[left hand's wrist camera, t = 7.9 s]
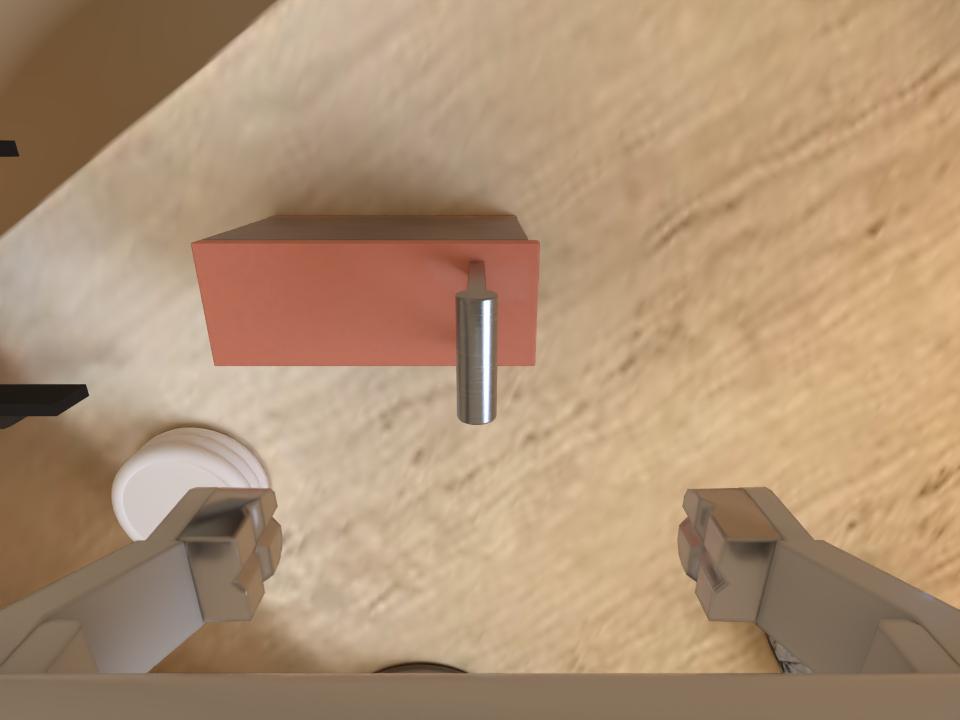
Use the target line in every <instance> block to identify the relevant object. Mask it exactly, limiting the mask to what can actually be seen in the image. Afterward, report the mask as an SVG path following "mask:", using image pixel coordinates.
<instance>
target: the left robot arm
mask: <svg viewBox="0 0 960 720" xmlns="http://www.w3.org/2000/svg"><path fill="white" fill-rule="evenodd" d="M277 507H278V506H277V501H276V496H275V492H274V491H273V490H272V489H271V488H237V487H221V488H219V487H195V488H192V489H189V490H188V492H187V493H186V494H185V495H184V496H183V497H182V498H181V500H180V501H179V502H178V503H177V504H176V505H175V507H174V508H173V509H172V510H171V511H170V512H169V513H168V515H167V516H166V517H165V518H164V519H163V520H162V522H161V523H160V524H159V525H158V526H157V527H156V529H155V530H154V531H153V532H152V533H151V534H150V535H149V537H148V538H147V539H146V540H137V541H135V542H133V543H131V544H129V545H127V546H125V547H123V548H121V549H119V550H117V551H115V552H113V553H111V554H109V555H107V556H105V557H103V558H101V559H99V560H97V561H95V562H93V563H91V564H89V565H88V566H86V567H84V568H82V569H80V570H78V571H76V572H74V573H72V574H70V575H68V576H66V577H64V578H62V579H60V580H58V581H56V582H54V583H52V584H50V585H48V586H46V587H44V588H42V589H40V590H38V591H36V592H34V593H32V594H30V595H28V596H26V597H24V598H23V599H21V600H19V601H17V602H15V603H13V604H11V605H9V606H7V607H5V608H3V609H1V610H0V720H960V610H959V609H957V608H955V607H953V606H951V605H949V604H947V603H945V602H943V601H941V600H939V599H937V598H935V597H933V596H931V595H929V594H927V593H925V592H923V591H921V590H919V589H918V588H916V587H914V586H912V585H910V584H908V583H906V582H904V581H902V580H900V579H898V578H896V577H894V576H892V575H890V574H888V573H886V572H884V571H882V570H880V569H878V568H876V567H874V566H872V565H870V564H868V563H866V562H864V561H863V560H861V559H859V558H857V557H855V556H853V555H851V554H849V553H847V552H845V551H843V550H841V549H839V548H837V547H835V546H833V545H831V544H829V543H827V542H825V541H823V540H814V539H813V538H812V537H811V535H810V534H809V533H808V532H807V531H806V530H805V529H804V527H803V526H802V525H801V524H800V523H799V522H798V520H797V519H796V518H795V517H794V516H793V515H792V514H791V512H790V511H789V510H788V509H787V508H786V507H785V505H784V504H783V503H782V502H781V501H780V500H779V499H778V497H777V496H776V495H775V494H774V493H773V492H772V490H770V489H768V488H766V487H741V488H713V489H687V491H686V493H685V495H684V500H683V506H682V507H683V509H684V510H685V512H686V514H687V516H688V517H687V518H686V519H685V520H684V521H683V522H682V523H681V524H680V525H679V532H678V551H679V557H680V560H681V564H682V566H683V568H684V571H685V573H686V575H688V576H689V577H690V578H692V579H693V580H695V581H696V582H697V584H696V590H695V593H696V595H697V597H698V599H699V601H700V603H701V605H702V607H703V609H704V612H705V614H706V616H707V618H708V620H709V621H730V622H757V623H756V625H757V626H759V627H760V628H761V629H762V630H763V631H765V632H766V633H767V634H768V635H769V636H770V637H772V638H773V639H774V640H775V641H776V642H778V643H779V644H780V645H781V646H782V647H783V648H785V649H786V650H787V651H788V652H789V653H791V654H792V655H793V656H794V657H795V658H796V659H798V660H799V661H800V662H801V663H802V664H803V665H805V666H806V667H807V668H808V669H809V670H811V671H812V672H813V673H147V672H148V671H150V670H151V669H152V668H153V667H154V666H155V665H157V664H158V663H159V662H160V661H161V660H163V659H164V658H165V657H166V656H167V655H168V654H170V653H171V652H172V651H173V650H174V649H176V648H177V647H178V646H179V645H180V644H181V643H183V642H184V641H185V640H186V639H187V638H189V637H190V636H191V635H192V634H193V633H194V632H196V631H197V630H198V629H199V628H200V627H202V626H203V622H229V621H251V620H252V618H253V616H254V614H255V612H256V610H257V608H258V606H259V603H260V601H261V599H262V597H263V595H264V593H265V590H264V585H263V582H264V581H265V580H267V579H268V578H269V577H271V576H272V575H274V573H275V570H276V568H277V566H278V564H279V560H280V556H281V551H282V531H281V525H280V524H279V523H278V522H277V521H276V520H275V519H274V518H273V517H272V516H273V514H274V512H275V510H276V508H277Z"/></svg>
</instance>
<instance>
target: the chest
mask: <svg viewBox="0 0 960 720" xmlns="http://www.w3.org/2000/svg"><path fill="white" fill-rule="evenodd" d="M202 240H528V238H527V236H526V234H525V233H524V231H523V229H522V227H521V225H520V224H519V222H518V220H517V217H516V216H271V217H268V218H267V219H264V220H261V221H258V222H254V223H251V224H248V225H245V226H242V227H239V228H236V229H233V230H230V231H227V232H224V233H221V234H218V235H215V236H212V237H209V238H205V239H202Z"/></svg>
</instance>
